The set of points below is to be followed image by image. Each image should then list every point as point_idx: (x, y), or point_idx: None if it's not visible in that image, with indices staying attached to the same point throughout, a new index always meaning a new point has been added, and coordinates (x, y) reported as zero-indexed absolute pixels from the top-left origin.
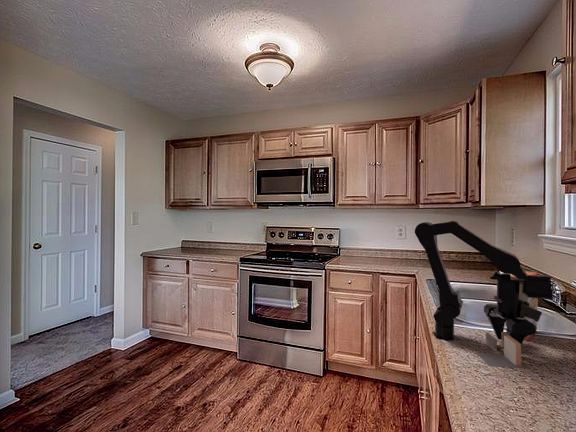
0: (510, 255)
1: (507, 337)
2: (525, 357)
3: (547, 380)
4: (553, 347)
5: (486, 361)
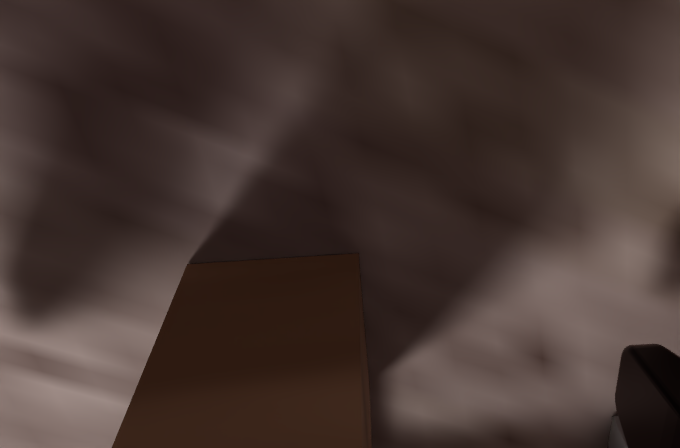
0: None
1: None
2: (642, 150)
3: None
4: None
5: None
